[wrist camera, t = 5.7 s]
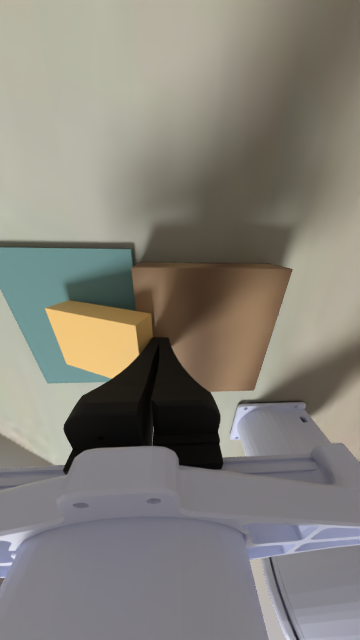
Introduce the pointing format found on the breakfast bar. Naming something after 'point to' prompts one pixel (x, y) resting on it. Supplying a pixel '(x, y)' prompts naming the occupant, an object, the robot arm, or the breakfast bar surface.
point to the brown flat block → (213, 316)
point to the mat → (62, 295)
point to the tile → (99, 335)
